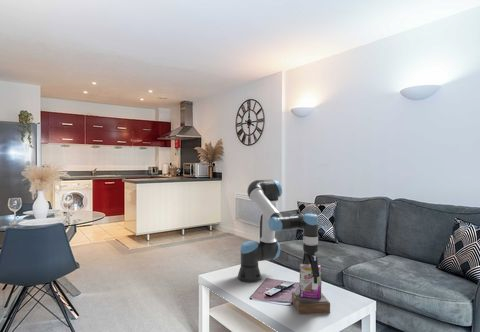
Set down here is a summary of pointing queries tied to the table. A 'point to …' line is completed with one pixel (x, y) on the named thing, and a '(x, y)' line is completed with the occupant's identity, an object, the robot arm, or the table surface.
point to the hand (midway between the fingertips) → (310, 283)
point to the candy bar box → (309, 282)
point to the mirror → (310, 304)
